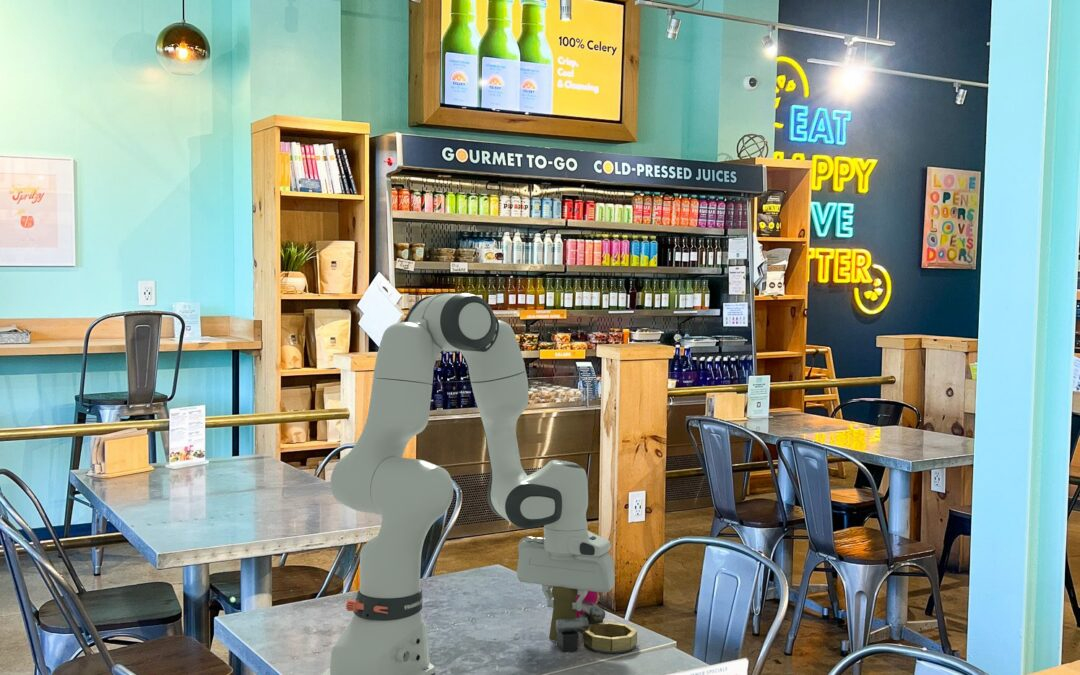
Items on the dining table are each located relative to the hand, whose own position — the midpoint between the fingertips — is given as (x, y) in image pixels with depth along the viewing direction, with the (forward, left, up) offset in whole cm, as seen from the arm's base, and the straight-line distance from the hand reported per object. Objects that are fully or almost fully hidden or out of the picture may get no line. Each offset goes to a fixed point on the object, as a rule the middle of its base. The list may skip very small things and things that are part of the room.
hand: (564, 608), depth 212 cm
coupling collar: (-1, -10, -6) cm, 12 cm away
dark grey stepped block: (-6, -4, -6) cm, 9 cm away
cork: (0, 0, -6) cm, 6 cm away
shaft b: (+5, -4, -6) cm, 9 cm away
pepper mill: (+14, +2, -6) cm, 16 cm away
